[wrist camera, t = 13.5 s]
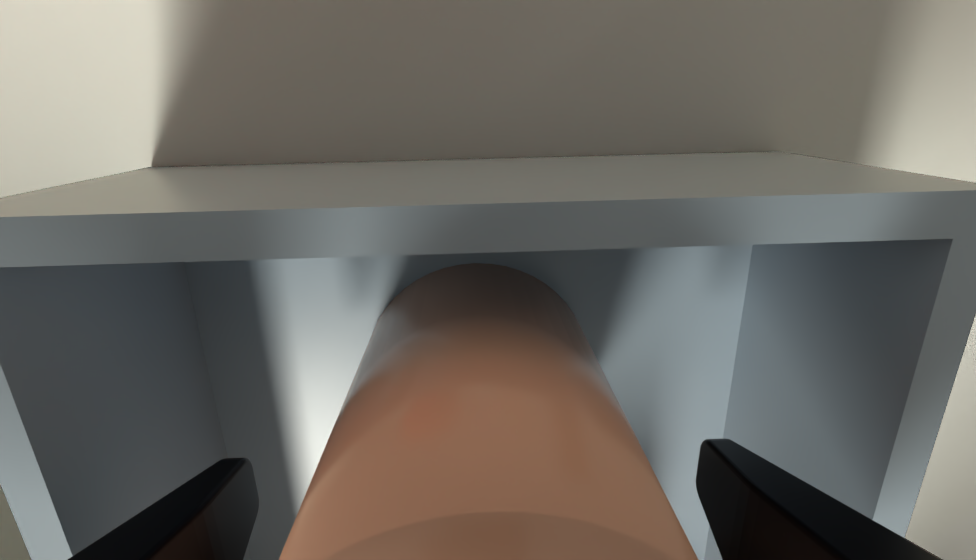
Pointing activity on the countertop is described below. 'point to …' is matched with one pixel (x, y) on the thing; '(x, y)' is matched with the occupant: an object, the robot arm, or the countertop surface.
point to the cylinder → (483, 438)
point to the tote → (464, 240)
